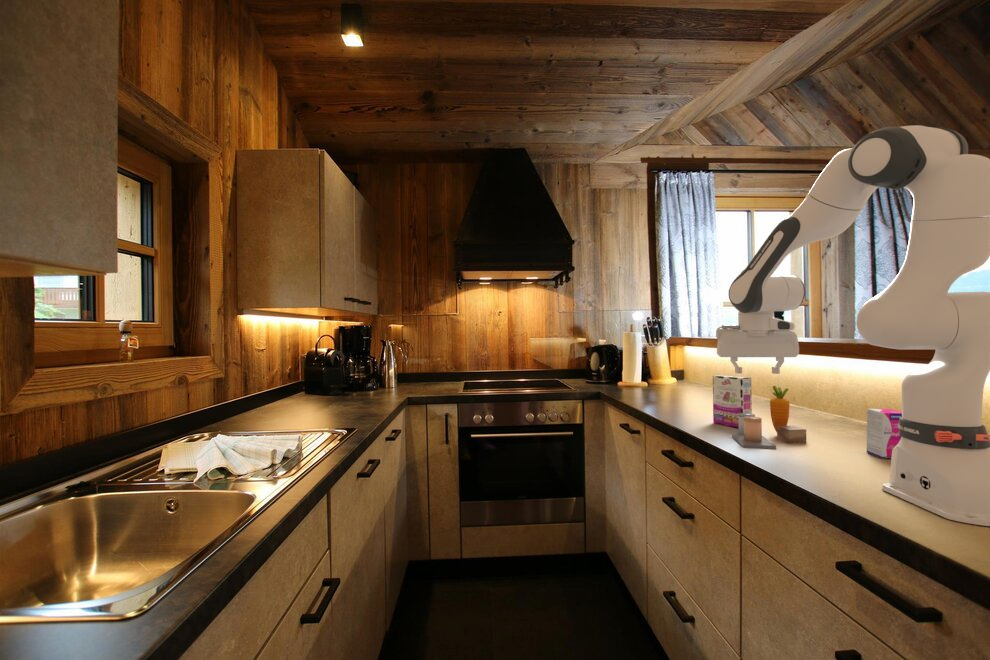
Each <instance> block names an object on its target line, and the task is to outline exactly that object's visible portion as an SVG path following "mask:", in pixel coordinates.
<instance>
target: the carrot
mask: <svg viewBox="0 0 990 660" xmlns="http://www.w3.org/2000/svg"><path fill="white" fill-rule="evenodd" d="M772 390H773V392H772V395H773V396H775V397H773V398H771V399H770V401H769V405H770V406H769V409H770V418H771V422H772V425H773V429H774V430H775V432H776V433H777V426H788V421H789V418H790V401H789V399H787V398H785V395H786V394H787V392H788V391H790V390H789V388H787V387H786V388H784V390H782V388H781V387H777V386H776V385H772Z"/></svg>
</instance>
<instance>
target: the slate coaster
mask: <svg viewBox="0 0 990 660" xmlns="http://www.w3.org/2000/svg"><path fill="white" fill-rule="evenodd" d="M731 437H732V439H734V440H735V441H736V442H737V443H738V444H739V445H740V447H742V448H748V449H749V448H751V449H768V450H769V449H772V450H773V449H774V450H776V449H777V445H775V444H774V443H773V442H771V440H769V439H768V438H766V437H765V436H763V435H762V441H748V440H745V439H744V435H740V434H739V433H738V434H735V433H733V434H731Z"/></svg>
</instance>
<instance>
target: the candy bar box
mask: <svg viewBox="0 0 990 660" xmlns="http://www.w3.org/2000/svg"><path fill="white" fill-rule="evenodd" d="M712 403H713V404H712V407H713V408H712V411H713V412H712V413H713V414H712V415H713V416H712V417H713V423H714V424H716V425H720V426H725V427H731V428H736V429H739V413H751V414H753V413H752V409H753V408H752V404H753V403H752V378H751V377H750V376H737V375H725V374H724V375H722V374H721V375H720V374H717V375H713V376H712Z"/></svg>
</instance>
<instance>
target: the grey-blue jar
mask: <svg viewBox="0 0 990 660" xmlns="http://www.w3.org/2000/svg"><path fill="white" fill-rule="evenodd" d="M745 416H753V417H756V414H755V413H752V414H751V413H739V428H738V434H739V435H744V417H745Z"/></svg>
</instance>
